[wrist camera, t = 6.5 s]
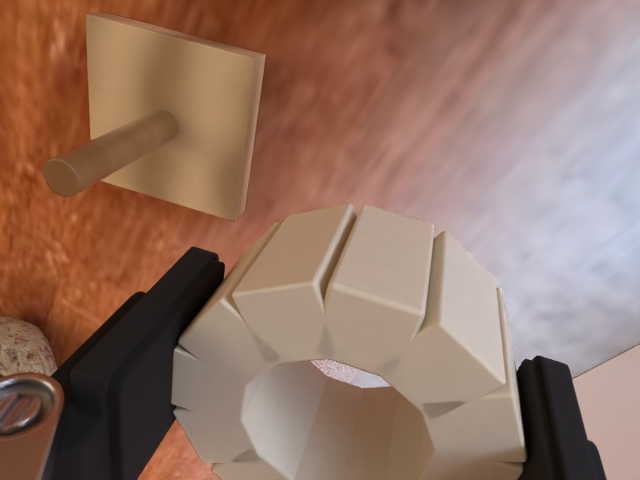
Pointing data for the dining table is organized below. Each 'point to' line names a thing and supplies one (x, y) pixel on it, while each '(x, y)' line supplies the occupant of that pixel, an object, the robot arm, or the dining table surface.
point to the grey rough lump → (24, 349)
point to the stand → (165, 117)
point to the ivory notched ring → (352, 357)
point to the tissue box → (613, 413)
